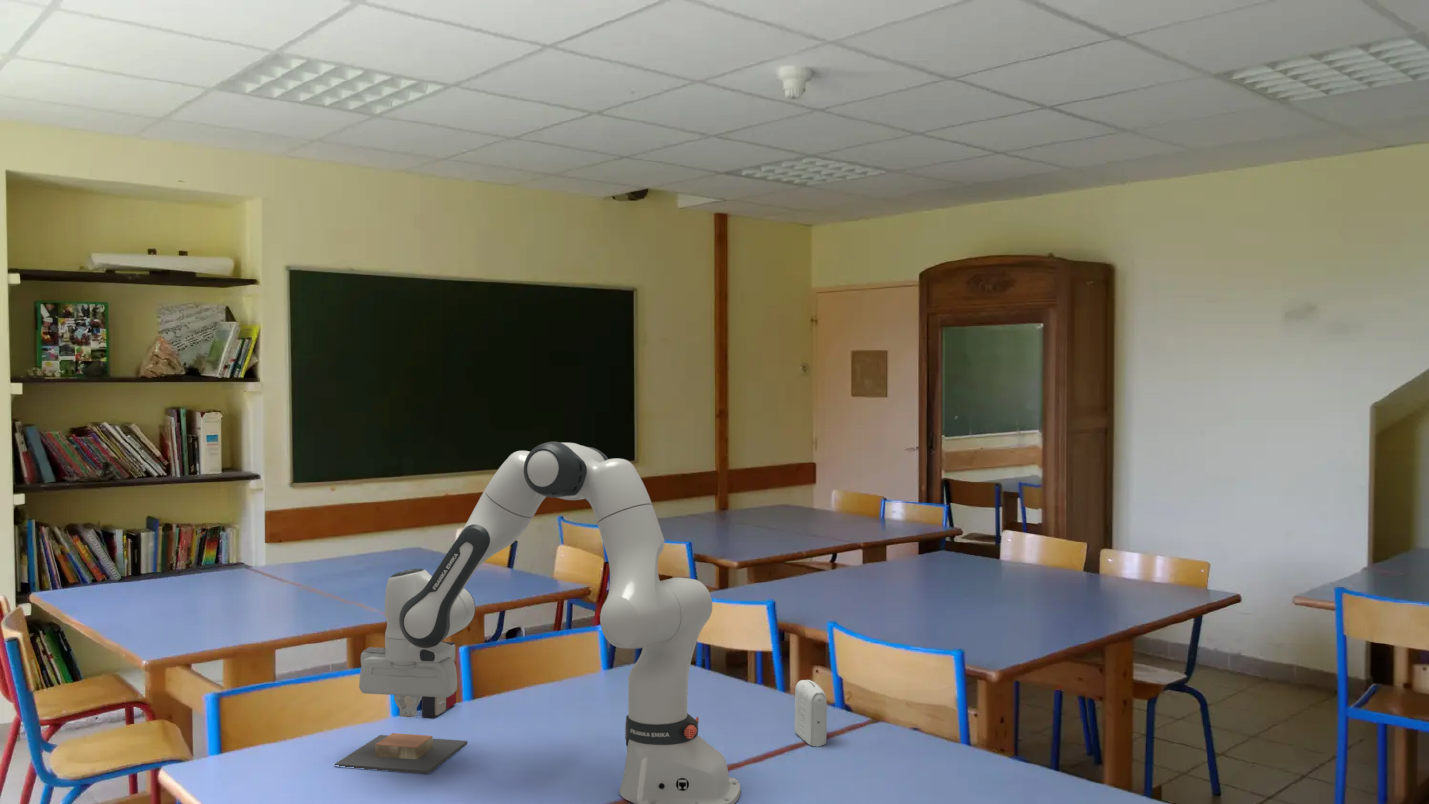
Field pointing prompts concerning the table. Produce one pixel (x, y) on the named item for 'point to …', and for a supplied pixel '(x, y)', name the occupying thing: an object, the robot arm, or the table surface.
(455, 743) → the mat
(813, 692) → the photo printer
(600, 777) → the table surface
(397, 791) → the table surface
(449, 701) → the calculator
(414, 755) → the tile
